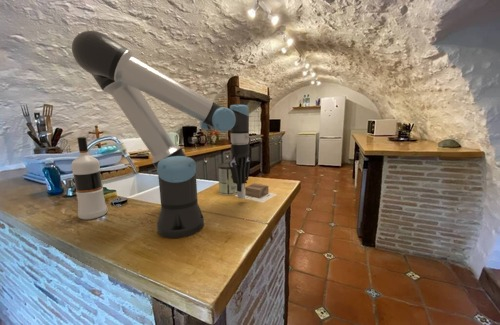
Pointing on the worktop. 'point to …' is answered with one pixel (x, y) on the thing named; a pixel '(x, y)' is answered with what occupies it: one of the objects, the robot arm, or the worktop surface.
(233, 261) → the worktop surface
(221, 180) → the coffee can
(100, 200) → the vodka
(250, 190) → the walnut block
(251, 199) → the letter
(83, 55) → the robot arm
